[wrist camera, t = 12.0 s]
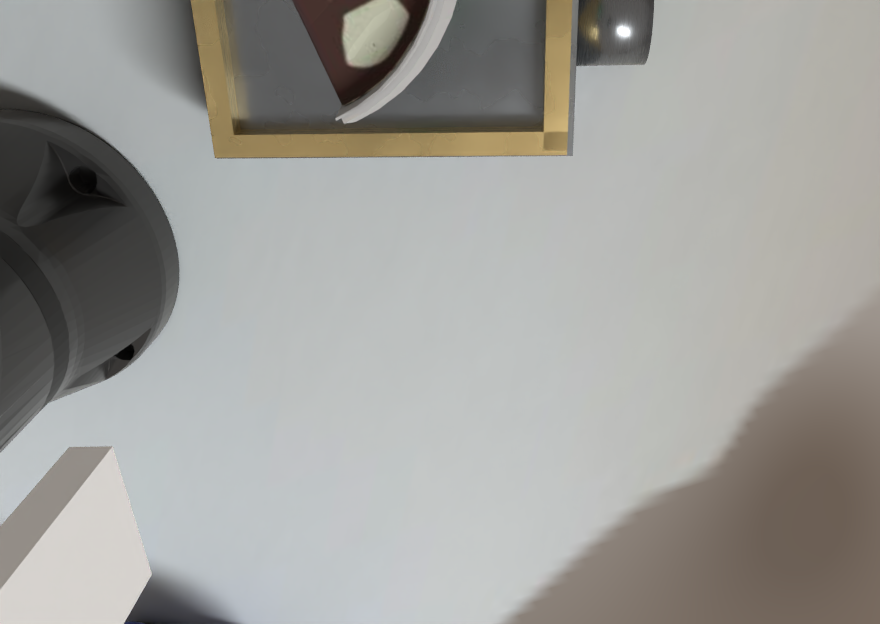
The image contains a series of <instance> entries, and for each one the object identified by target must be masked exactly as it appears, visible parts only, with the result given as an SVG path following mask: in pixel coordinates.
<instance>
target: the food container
mask: <svg viewBox="0 0 880 624" xmlns="http://www.w3.org/2000/svg"><path fill="white" fill-rule="evenodd" d="M292 1H293V4H294V6H295V8H296V10H297V12H298V14H299V16H300V18H301V20H302V22H303V24H304V26H305V28H306V30H307V32H308V34H309V37H310V39H311V41H312V43H313V45H314V47H315V49H316V51H317V54H318V56H319V58H320V60H321V62H322V64H323V66H324V68H325V71H326V73H327V75H328V77H329V79H330V81H331V83H332V85H333V87H334V89H335V92H336V94H337V96H338V98H339V100H340V102H341V104H342V105H341V107H340V109H339V111H338V114H337V116H336V118H335V119H336V121H337V120H339V119H342V121H343V123H344V124H345V123H352V122H356V121H358V120H360V119H362V118H364V117H366V116H367V115H369V114H371V113H373V112H375V111H377V110H378V109H380V108H381V107H382V106H384V105H385V104H386V103H388V102H389V101H390V100H392V99H393V98H394V97H396V96H397V95H398V94H399V93H401V92H402V91H403V90H404V89H405V88H406V87H407V86H408V84H409V83H410V82H411V81H412V80H413V79H414V78H415V77H416V76H417V75H418V74H419V73H420V72H421V71H422V69H423V68H424V66H425V65H426V63H427V62H428V60H429V59H430V57H431V56H432V54H433V53H434V51H435V50H436V49H437V47H438V45H439V43H440V41H441V39H442V37H443V35H444V33H445V31H446V28H447V26H448V24H449V22H450V20H451V18H452V15H453V11H454V8H455V5H456V1H457V0H292Z"/></svg>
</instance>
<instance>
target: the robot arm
mask: <svg viewBox="0 0 880 624" xmlns="http://www.w3.org/2000/svg"><path fill="white" fill-rule="evenodd" d="M178 285H179V260H178V253H177V248H176V243H175V239H174V236H173V233H172V229H171V227H170V224H169V222H168V219H167V217H166V215H165V213H164V210H163V209H162V207H161V205H160V203H159V201H158V200H157V198H156V196H155V195H154V193H153V192H152V190H151V189H150V187H149V186H148V185H147V183H146V182H145V181H144V179H143V178H142V177H141V176H140V175H139V173H138V172H137V171H136V170H135V169H134V168H133V167H132V166H131V165H130V164H129V163H128V162H127V161H126V160H125V159H124V158H123V157H122V156H121V155H120V154H119V153H117V152H116V151H115V150H114V149H113V148H111V147H110V146H109V145H107V144H106V143H104V142H103V141H102V140H100V139H99V138H97V137H95V136H94V135H92V134H91V133H89V132H87V131H85V130H83V129H82V128H79V127H77V126H75V125H73V124H71V123H69V122H66V121H64V120H61V119H58V118H55V117H52V116H49V115H45V114H41V113H36V112H30V111H22V110H0V452H1V451H2V450H3V449H4V448H5V447H6V446H7V445H8V444H9V443H10V442H11V441H12V440H13V439H14V438H15V437H16V436H17V435H18V434H19V433H20V432H21V431H22V430H23V429H24V427H25V426H26V425H27V424H28V423H29V422H30V421H31V420H32V419H33V418H34V417H35V416H36V415H37V414H38V413H39V412H40V411H41V410H42V409H43V408H44V407H45V406H46V404H47V403H49V402H52V401H54V400H57V399H59V398H62V397H64V396H67V395H69V394H72V393H74V392H77V391H79V390H82V389H84V388H87V387H89V386H92V385H94V384H97V383H99V382H102V381H104V380H107V379H109V378H111V377H113V376H115V375H116V374H118V373H119V372H121V371H123V370H124V369H125V368H127V367H128V366H129V365H131V364H132V363H133V362H134V361H135V360H136V359H138V358H139V357H140V356H141V354H142V353H143V352H144V351H145V350H146V349H147V348H148V347H149V345H150V344H151V343H152V342H153V341H154V340H155V339H156V337H157V336H158V335H159V334H160V332H161V331H162V330H163V328H164V327H165V325H166V323H167V322H168V319H169V317H170V315H171V313H172V310H173V308H174V305H175V301H176V298H177V292H178ZM151 575H152V572H151V569H150V566H149V563H148V559H147V556H146V553H145V550H144V547H143V543H142V540H141V537H140V534H139V530H138V527H137V524H136V521H135V517H134V514H133V511H132V508H131V504H130V501H129V498H128V495H127V491H126V488H125V485H124V482H123V479H122V475H121V472H120V469H119V466H118V462H117V459H116V456H115V453H114V449H113V446H112V447H69V448H68V449H67V450H66V451H65V453H64V454H63V455H62V456H61V457H60V458H59V460H58V461H57V462H56V463H55V464H54V465H53V466H52V468H51V469H50V470H49V471H48V472H47V473H46V475H45V476H44V477H43V478H42V479H41V480H40V482H39V483H38V484H37V485H36V486H35V487H34V488H33V490H32V491H31V492H30V493H29V494H28V495H27V497H26V498H25V499H24V500H23V501H22V502H21V503H20V505H19V506H18V507H17V508H16V509H15V510H14V512H13V513H12V514H11V515H10V516H9V517H8V518H7V520H6V521H5V522H4V523H3V524H2V525H1V527H0V624H124V622H125V621H126V619H127V617H128V615H129V614H130V612H131V610H132V608H133V607H134V605H135V603H136V601H137V600H138V598H139V596H140V594H141V593H142V591H143V589H144V587H145V586H146V584H147V582H148V580H149V579H150V577H151Z"/></svg>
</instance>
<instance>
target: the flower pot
mask: <svg viewBox="0 0 880 624" xmlns="http://www.w3.org/2000/svg"><path fill="white" fill-rule="evenodd" d="M124 624H146V623H141V622H124Z"/></svg>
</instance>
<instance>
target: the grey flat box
mask: <svg viewBox="0 0 880 624" xmlns="http://www.w3.org/2000/svg"><path fill="white" fill-rule="evenodd" d="M191 6H192V12H193V19H194V25H195V32H196V38H197V45H198V51H199V58H200V64H201V71H202V77H203V83H204V90H205V96H206V103H207V109H208V116H209V122H210V129H211V135H212V142H213V148H214V155H215V158H341V157H472V156H573V133H574V107H575V81H576V66H597V65H644V64H645V63H646V61H647V58H648V54H649V49H650V43H651V36H652V27H653V13H654V0H457V1H456V5H455V8H454V11H453V15H452V18H451V20H450V22H449V24H448V26H447V28H446V31H445V33H444V35H443V37H442V39H441V41H440V43H439V45H438V47H437V49H436V50H435V51H434V53H433V54H432V56H431V57H430V59H429V60H428V62H427V63H426V65H425V66H424V68H423V69H422V71H421V72H420V73H419V74H418V75H417V76H416V77H415V78H414V79H413V80H412V81H411V82H410V83H409V84H408V86H407V87H406V88H405V89H404V90H403V91H402V92H401V93H399V94H398V95H397V96H396V97H394V98H393V99H392V100H390V101H389V102H388V103H386V104H385V105H384V106H382V107H381V108H380V109H378V110H377V111H375V112H373V113H371V114H369V115H367V116H366V117H364V118H362V119H360V120H358V121H356V122H352V123H345V124H344V123H343V121H342V119H339V120H337V121H336V119H335V118H336V116H337V114H338V111H339V109H340V107H341V105H342V104H341V102H340V100H339V98H338V96H337V94H336V92H335V89H334V87H333V85H332V83H331V81H330V79H329V77H328V75H327V73H326V71H325V68H324V66H323V64H322V62H321V60H320V58H319V56H318V54H317V51H316V49H315V47H314V45H313V43H312V41H311V39H310V37H309V34H308V32H307V30H306V28H305V26H304V24H303V22H302V20H301V18H300V16H299V14H298V12H297V10H296V8H295V6H294V4H293V1H292V0H191Z"/></svg>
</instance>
